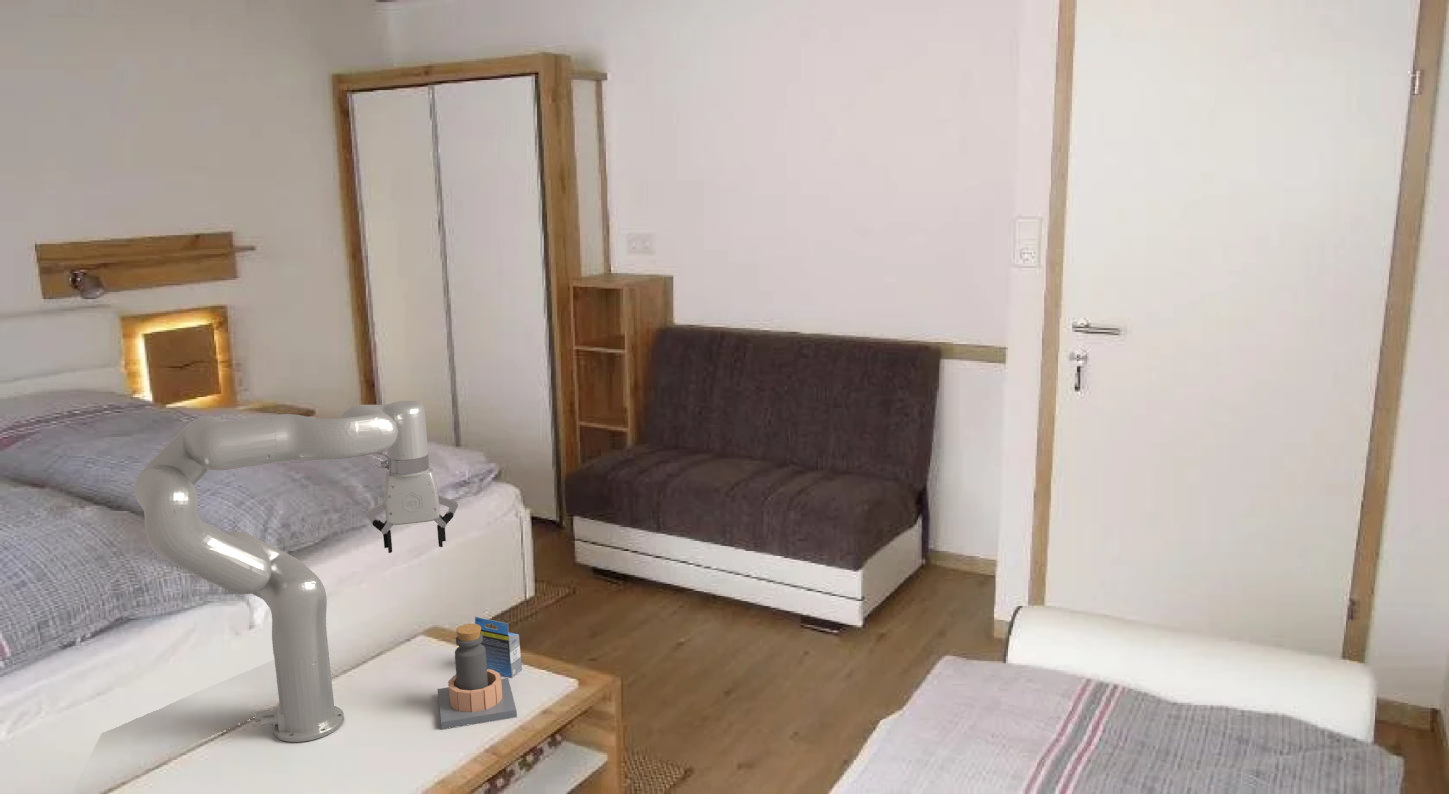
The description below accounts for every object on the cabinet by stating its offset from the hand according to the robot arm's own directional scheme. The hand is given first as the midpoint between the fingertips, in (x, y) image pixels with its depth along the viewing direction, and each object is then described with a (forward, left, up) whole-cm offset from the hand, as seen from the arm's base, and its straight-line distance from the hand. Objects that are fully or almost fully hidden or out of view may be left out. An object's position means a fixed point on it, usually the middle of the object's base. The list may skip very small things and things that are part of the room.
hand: (415, 547), depth 208 cm
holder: (+9, -11, -30) cm, 33 cm away
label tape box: (+15, +3, -31) cm, 34 cm away
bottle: (+9, -11, -29) cm, 32 cm away
